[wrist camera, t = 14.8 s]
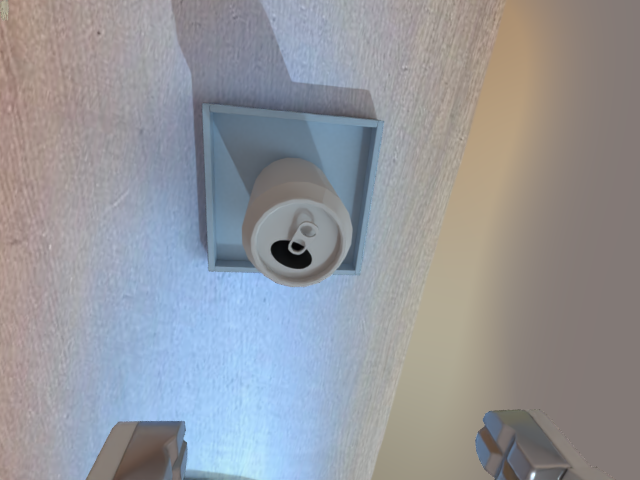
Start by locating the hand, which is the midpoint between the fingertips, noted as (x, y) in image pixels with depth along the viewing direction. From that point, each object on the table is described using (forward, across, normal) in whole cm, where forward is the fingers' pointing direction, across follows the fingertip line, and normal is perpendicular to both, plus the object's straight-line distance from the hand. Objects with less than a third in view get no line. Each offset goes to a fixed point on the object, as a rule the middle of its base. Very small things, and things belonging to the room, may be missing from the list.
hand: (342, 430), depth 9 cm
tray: (+25, +1, 0) cm, 25 cm away
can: (+25, +1, 0) cm, 25 cm away
